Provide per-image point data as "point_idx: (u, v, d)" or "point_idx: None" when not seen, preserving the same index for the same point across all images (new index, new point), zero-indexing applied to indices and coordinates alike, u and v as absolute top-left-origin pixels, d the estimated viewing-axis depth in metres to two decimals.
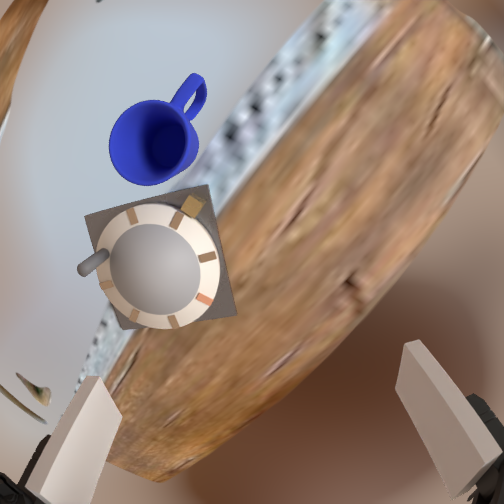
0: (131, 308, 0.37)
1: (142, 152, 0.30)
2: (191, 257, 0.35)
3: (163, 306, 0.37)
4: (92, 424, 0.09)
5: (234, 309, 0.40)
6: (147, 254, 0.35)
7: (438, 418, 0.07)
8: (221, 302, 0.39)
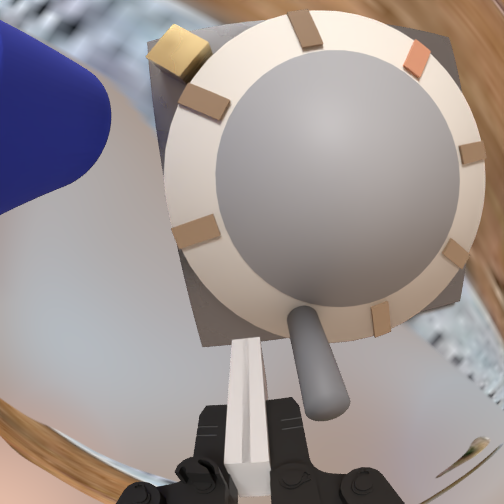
0: (441, 259, 0.13)
1: None
2: (310, 66, 0.11)
3: (442, 169, 0.12)
4: None
5: (438, 36, 0.11)
6: (308, 192, 0.12)
7: None
8: None
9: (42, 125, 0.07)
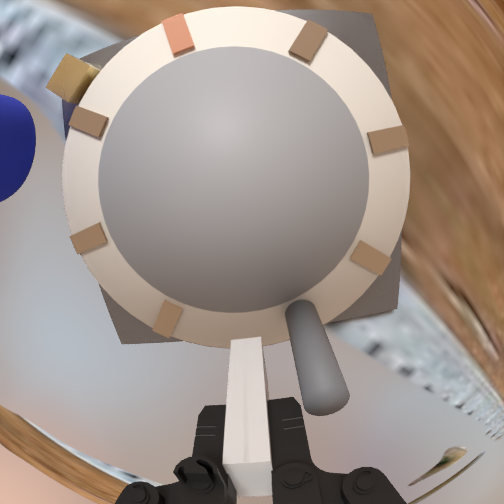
0: (377, 158, 0.12)
1: None
2: (115, 143, 0.11)
3: (293, 88, 0.11)
4: None
5: (357, 14, 0.11)
6: (204, 228, 0.13)
7: None
8: (338, 34, 0.12)
9: None
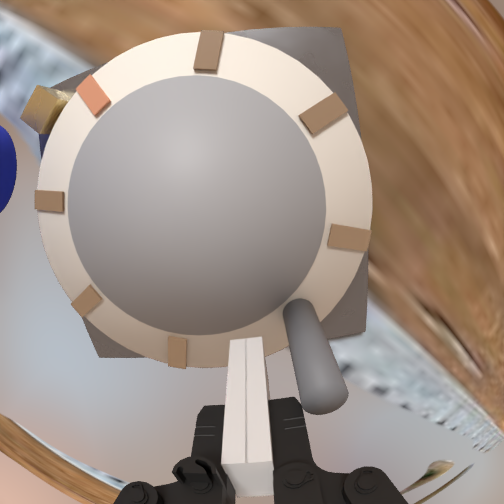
0: (319, 136, 0.12)
1: None
2: (77, 212, 0.12)
3: (210, 102, 0.11)
4: None
5: (324, 29, 0.12)
6: (178, 262, 0.13)
7: None
8: (302, 52, 0.12)
9: None
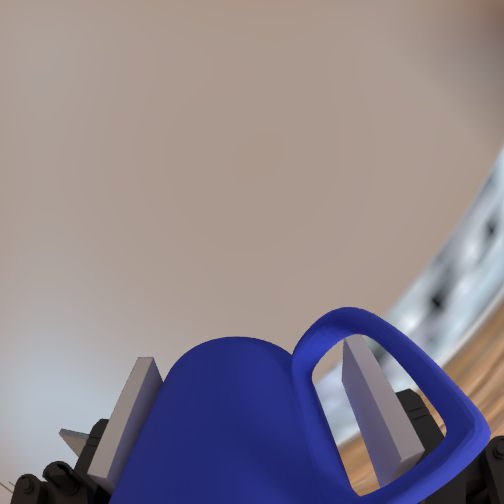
0: None
1: None
2: None
3: None
4: (148, 404, 0.10)
5: None
6: None
7: (368, 409, 0.09)
8: None
9: None
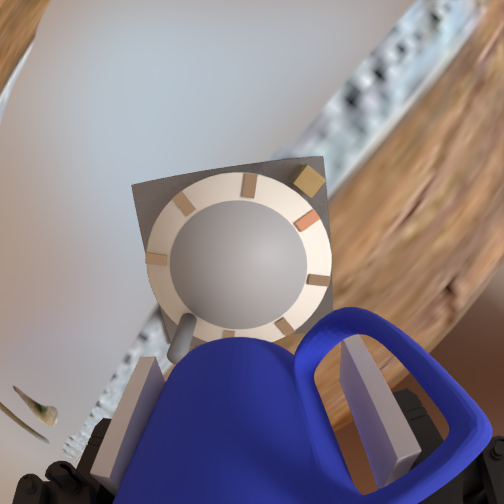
0: (274, 325, 0.28)
1: None
2: (240, 208, 0.24)
3: (291, 281, 0.27)
4: (150, 403, 0.10)
5: None
6: (212, 265, 0.26)
7: (365, 409, 0.09)
8: (317, 311, 0.30)
9: None
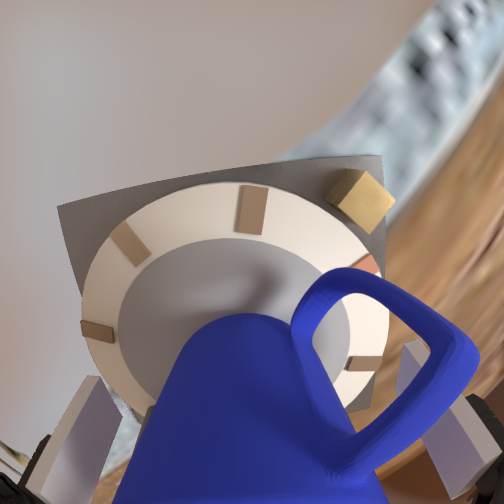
0: None
1: None
2: (235, 253, 0.13)
3: None
4: (92, 424, 0.09)
5: (369, 400, 0.19)
6: None
7: None
8: None
9: None
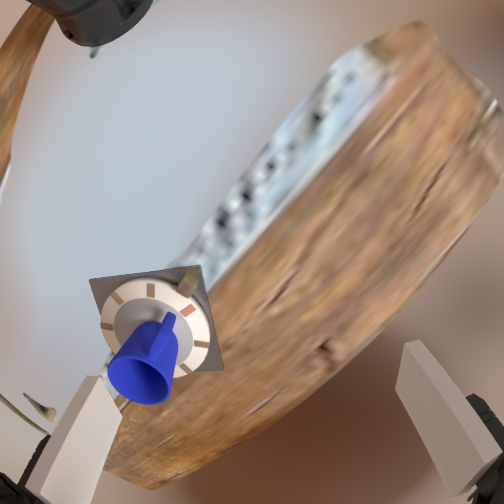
0: (179, 367, 0.42)
1: None
2: (147, 302, 0.38)
3: (184, 344, 0.41)
4: (92, 424, 0.09)
5: (221, 365, 0.44)
6: None
7: (438, 418, 0.07)
8: (210, 359, 0.44)
9: None
